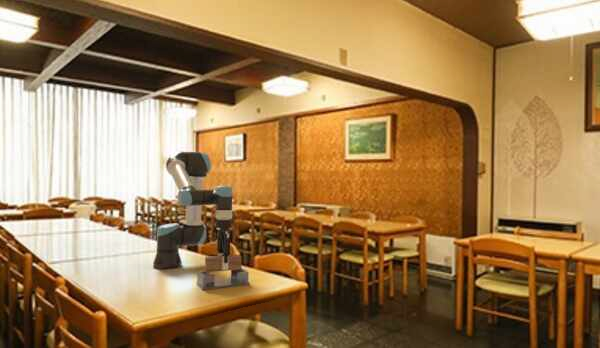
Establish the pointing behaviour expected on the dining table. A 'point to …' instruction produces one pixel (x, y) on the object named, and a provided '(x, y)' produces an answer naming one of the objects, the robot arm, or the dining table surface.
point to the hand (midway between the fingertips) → (223, 268)
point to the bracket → (222, 280)
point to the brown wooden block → (216, 263)
